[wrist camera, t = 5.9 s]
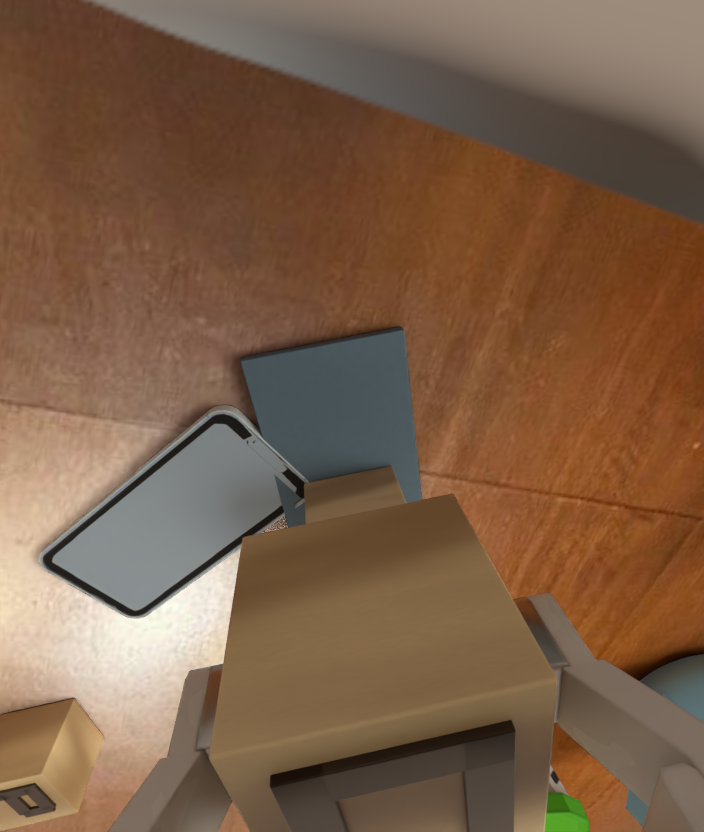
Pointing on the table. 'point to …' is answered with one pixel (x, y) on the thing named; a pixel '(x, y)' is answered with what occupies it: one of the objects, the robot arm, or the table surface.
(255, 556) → the tile
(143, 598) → the smartphone
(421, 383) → the table surface
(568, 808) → the cup
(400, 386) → the mat
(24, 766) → the tile
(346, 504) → the tile
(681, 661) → the teapot
